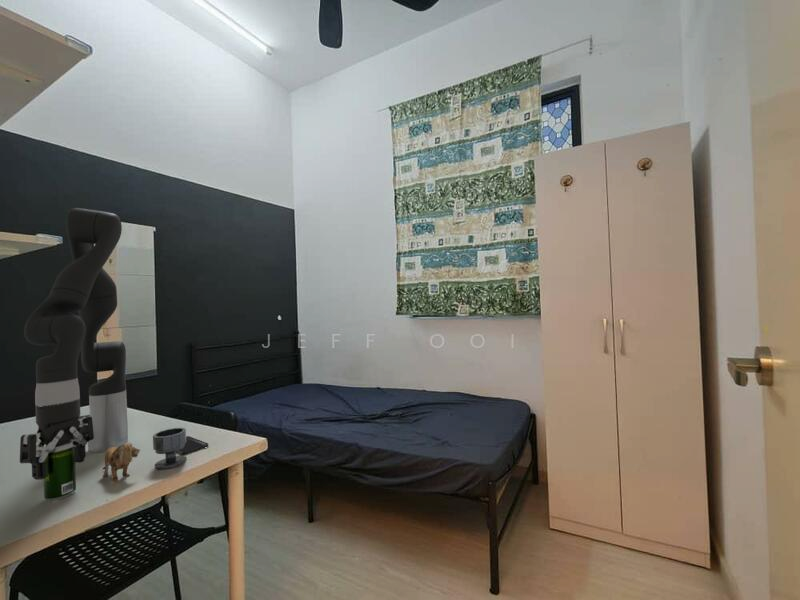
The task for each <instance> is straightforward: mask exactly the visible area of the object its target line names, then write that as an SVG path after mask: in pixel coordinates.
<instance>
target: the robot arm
mask: <svg viewBox="0 0 800 600" xmlns="http://www.w3.org/2000/svg"><path fill="white" fill-rule="evenodd" d="M65 220H66V221H65V222H66V223H65V227H66V233H67V238H68V243H69V244H68V245H69V249H70V253H71V257H72V262H71V263H70V264H68V265H67V266H65V267H64V268H63V269H62V270H61V271H60V272H59V274H58V275H57V276H56V279H55V281H54V283H53V285H52V288H51V290H50V292H49V295H48V296H47V297H46V298H45V299H44V301H42V302H41V303H40V304H39V306H38V307H37V308H36V309H35V310H34V311H33V312H32V313H31V315H30V316H29V317H28V319H27V320H26V322H25V324H24V326H23V327H24V328H23V330H24V331H23V333H24V337H25V339H26V341H27V342H28V343H30V344H31V345H35V346H53V345H54V346H56V348H55V350H54V353H52V354H50V355H49V354H48V355H46V356H42V357H40V358H38V359H37V360H36V362H35V363H36V364H35V380H36V381H35V383H36V385H35V386H36V387H35V391H34V392H35V393H34V399H35V400H34V401H35V404H34V405H35V423H36V425H37V428H38V429H37V432H34V433H30V434H22V435H21V436H20V443H19V444H20V445H19V463H20V464H31V477H32V478H33V479H34V480H38V481H40V480H41V481H42V480H44V478H46V461H44V460H45V459H46V457H47V455H48V454H49V452H51V451H52V450H53V449H54V447H55V446H58V445H61V444H62V443H65V442H69V441H70V440H73V443H74V445H75V464H76V463H77V464H80V463H83V462H84V461H85V458H86V453H87V452H86V451H87V450H88V451H91V452H92V453H103V452H106V451H107V450H108V449H110V448H111V447H117V448H118V447H119V446H121V445H123V444H126V443H129V429H128V428H129V426H128V405H127V404H128V402H127V400H128V399H127V381H126V378H127V377H126V364H127V361H126V360H127V351H126V345H125V343H124V342H122V341H120V340H119V341H117V340H116V341H103V342H95V341H96V337H97V336H98V333H99V332H100V330H101V329H102V328H103V326H104V325H105V324H106V322H108V320H109V319H110V318H111V317H112V316H113V314H114V313H115V311H117V310H116V309H117V306H118V291H117V285H116V283H115V281H114V280H113V278H112V277H111V275H109V273H108V272H107V271H106V270H105V269H104V268H103V267H104V266H105V264H106V263H107V261H108V260H109V258H110V257H111V255H112V253H113V251H114V249H115V248H117V245H118V243H119V241H120V238H121V237H122V230H123V228H122V221H121V219H120V217H119V216H118V215H117V214H115V213H112V212H109V211H108V212H107V211H101V210H95V209H87V208H80V207H74V208H71V209H70V210H69V211H68V212H67V215H66V219H65ZM93 244H94V245H93ZM91 245H93V246H92V247H91ZM75 312H78V313H77V314H78V315H77V314H74V313H75ZM79 356H80V361H81V366H82V369H83V371H84V372H86V373H90V374H91V373H92V374H93V373H101V372H103V373H104V372H110V371H112V374H111V375H110V376H107V378H105V379H103V380H100V381H98V382H96V383H93V384H91V385H90V386H89V387H88V399H89V400H88V401H89V405H88V406H89V415H90V417H80V418H79V419H78V417H79V416H81V394H80V384H79V378H78V377H79V375H78V373H79V372H78V360H79ZM78 427H80V433H79V432H78V431H77V429H78ZM46 445H47V446H46ZM86 445H87V450H86ZM44 446H46V447H44Z"/></svg>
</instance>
